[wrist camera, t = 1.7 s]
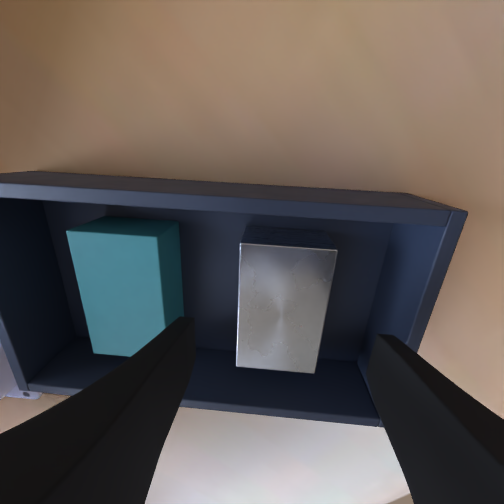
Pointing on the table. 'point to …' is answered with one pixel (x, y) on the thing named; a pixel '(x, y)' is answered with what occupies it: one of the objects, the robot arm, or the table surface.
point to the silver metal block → (283, 297)
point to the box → (223, 283)
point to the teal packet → (127, 280)
